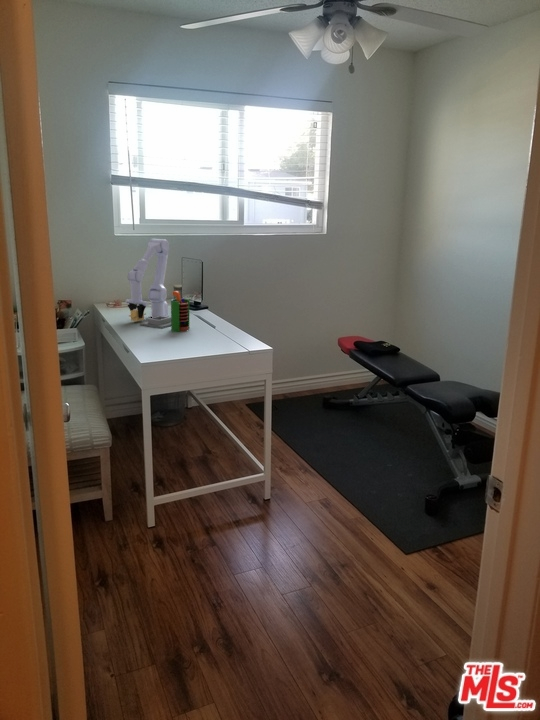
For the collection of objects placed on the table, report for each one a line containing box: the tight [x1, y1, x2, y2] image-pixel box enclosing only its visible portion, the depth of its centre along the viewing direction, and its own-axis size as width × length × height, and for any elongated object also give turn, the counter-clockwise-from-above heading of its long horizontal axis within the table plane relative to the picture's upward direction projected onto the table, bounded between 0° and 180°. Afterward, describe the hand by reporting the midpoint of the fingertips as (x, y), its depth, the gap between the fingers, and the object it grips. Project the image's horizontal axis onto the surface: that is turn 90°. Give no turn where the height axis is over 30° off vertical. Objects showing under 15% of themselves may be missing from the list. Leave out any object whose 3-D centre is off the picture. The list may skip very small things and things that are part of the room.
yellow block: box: [128, 308, 146, 322], centre depth 297 cm, size 9×4×6 cm, turn 151°
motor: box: [170, 290, 190, 333], centre depth 279 cm, size 10×9×20 cm
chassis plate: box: [139, 316, 171, 329], centre depth 293 cm, size 14×15×4 cm
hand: (137, 317), depth 298 cm, fingers closed on yellow block, 4 cm apart
